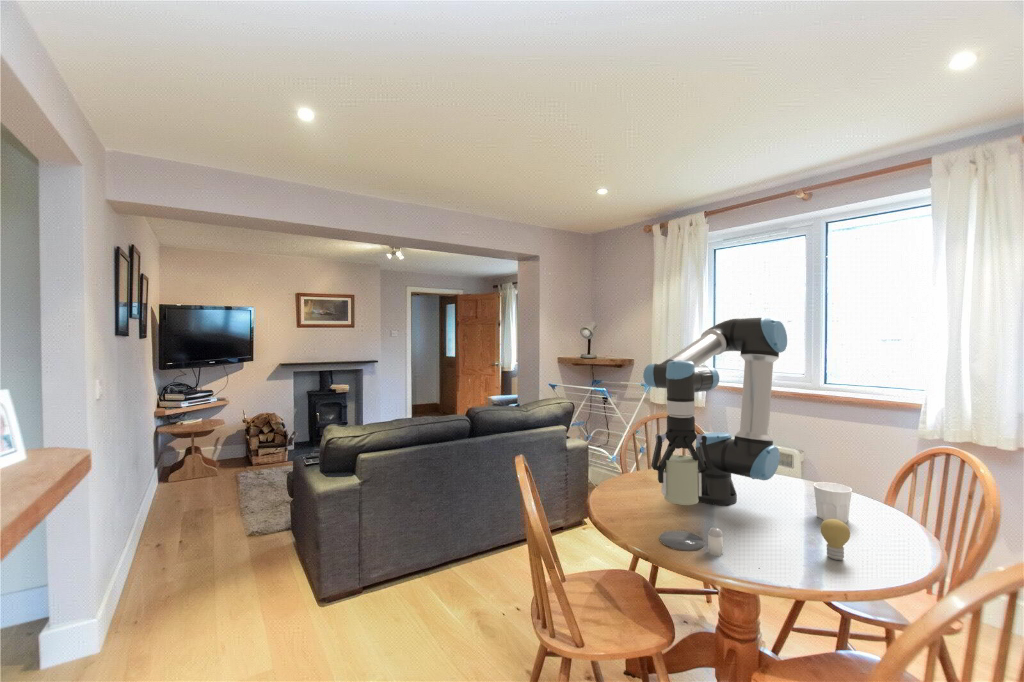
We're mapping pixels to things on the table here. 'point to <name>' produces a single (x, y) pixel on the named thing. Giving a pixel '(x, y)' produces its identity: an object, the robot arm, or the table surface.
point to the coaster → (682, 540)
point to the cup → (832, 501)
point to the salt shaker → (715, 542)
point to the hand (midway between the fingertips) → (681, 494)
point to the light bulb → (835, 537)
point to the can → (682, 480)
